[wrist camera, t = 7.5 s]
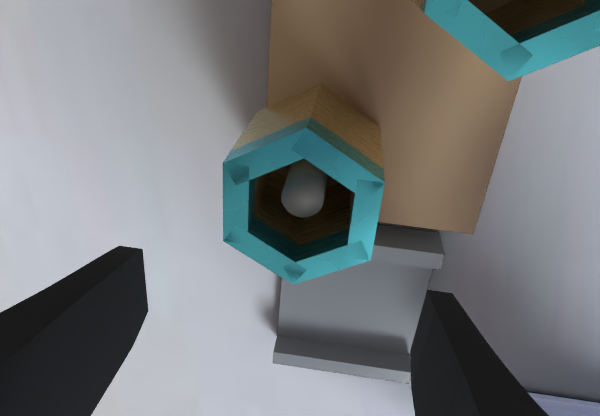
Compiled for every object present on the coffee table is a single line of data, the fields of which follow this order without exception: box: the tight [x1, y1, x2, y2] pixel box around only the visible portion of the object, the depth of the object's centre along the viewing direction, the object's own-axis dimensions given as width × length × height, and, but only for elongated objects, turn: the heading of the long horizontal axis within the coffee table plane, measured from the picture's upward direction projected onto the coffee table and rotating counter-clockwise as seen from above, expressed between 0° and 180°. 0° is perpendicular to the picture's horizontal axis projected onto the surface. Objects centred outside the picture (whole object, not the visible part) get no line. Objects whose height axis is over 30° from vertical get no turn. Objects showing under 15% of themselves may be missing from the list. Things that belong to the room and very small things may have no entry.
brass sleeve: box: [223, 83, 385, 285], centre depth 17 cm, size 5×6×5 cm
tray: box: [273, 224, 445, 384], centre depth 23 cm, size 7×8×2 cm
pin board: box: [266, 0, 522, 234], centre depth 16 cm, size 9×13×6 cm
